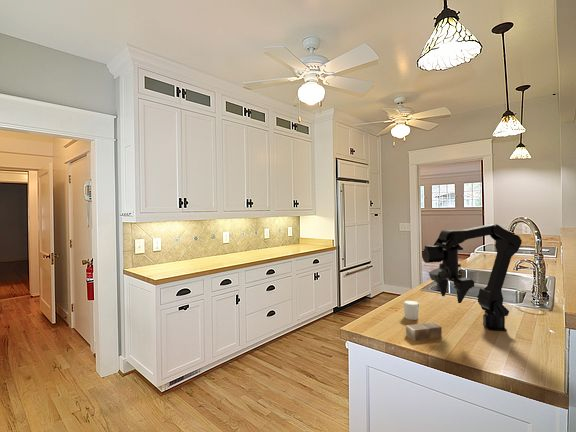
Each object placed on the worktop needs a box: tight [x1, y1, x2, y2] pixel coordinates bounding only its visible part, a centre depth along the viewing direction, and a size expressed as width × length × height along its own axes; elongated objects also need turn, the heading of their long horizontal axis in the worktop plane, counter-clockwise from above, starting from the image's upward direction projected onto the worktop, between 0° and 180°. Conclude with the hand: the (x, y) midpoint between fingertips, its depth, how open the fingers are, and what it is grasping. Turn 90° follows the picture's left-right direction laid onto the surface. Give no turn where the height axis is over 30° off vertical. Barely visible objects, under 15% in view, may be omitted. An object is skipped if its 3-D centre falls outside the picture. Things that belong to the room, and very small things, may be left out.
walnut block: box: [405, 321, 443, 341], centre depth 120 cm, size 4×5×12 cm
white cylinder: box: [402, 299, 420, 321], centre depth 139 cm, size 7×7×7 cm
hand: (451, 299), depth 124 cm, fingers open, 9 cm apart
